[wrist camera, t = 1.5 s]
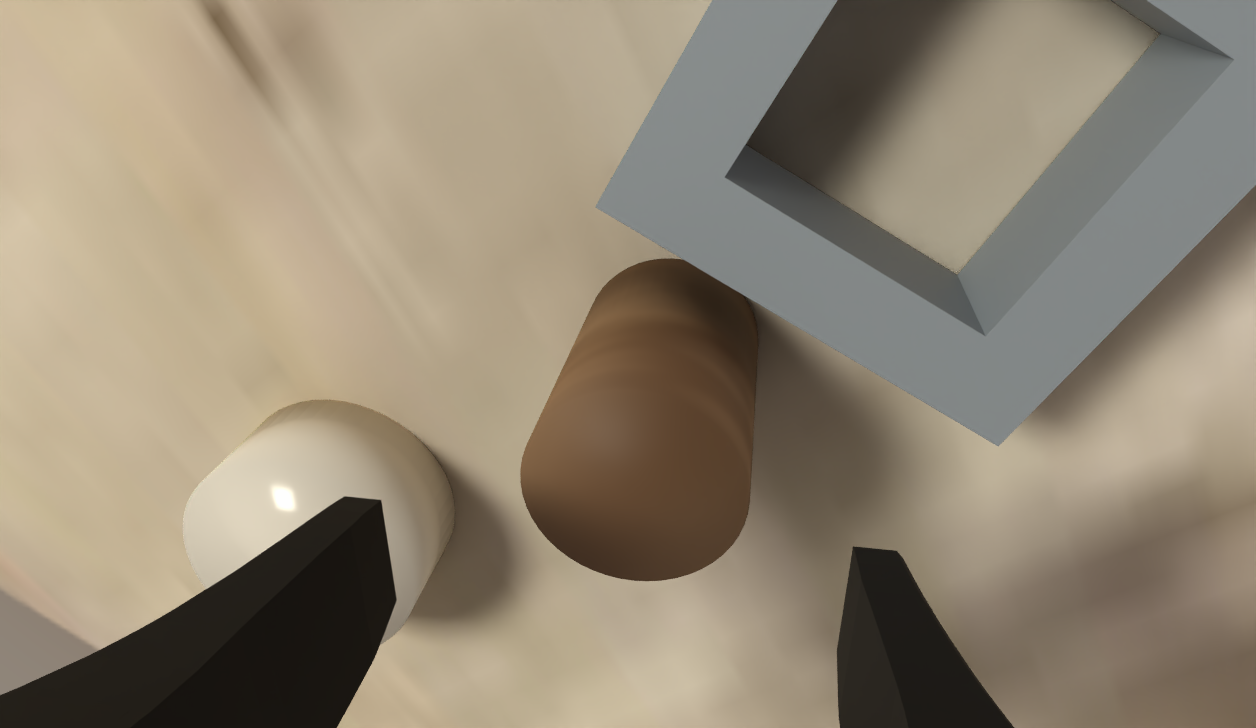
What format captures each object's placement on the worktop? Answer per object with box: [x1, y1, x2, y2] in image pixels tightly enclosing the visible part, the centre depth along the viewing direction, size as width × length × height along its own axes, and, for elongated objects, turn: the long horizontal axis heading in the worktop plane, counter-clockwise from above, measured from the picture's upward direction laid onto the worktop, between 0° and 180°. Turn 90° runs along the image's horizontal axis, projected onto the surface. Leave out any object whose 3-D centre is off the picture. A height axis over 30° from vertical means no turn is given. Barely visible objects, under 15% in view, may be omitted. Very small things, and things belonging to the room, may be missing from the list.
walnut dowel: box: [521, 259, 758, 581], centre depth 18 cm, size 4×4×6 cm
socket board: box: [596, 0, 1256, 446], centre depth 16 cm, size 9×9×3 cm
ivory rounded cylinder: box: [183, 400, 455, 644], centre depth 23 cm, size 6×6×3 cm
